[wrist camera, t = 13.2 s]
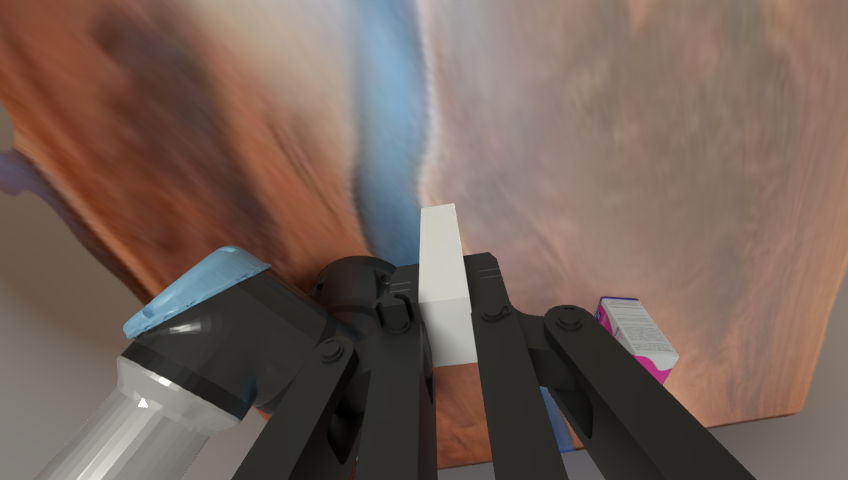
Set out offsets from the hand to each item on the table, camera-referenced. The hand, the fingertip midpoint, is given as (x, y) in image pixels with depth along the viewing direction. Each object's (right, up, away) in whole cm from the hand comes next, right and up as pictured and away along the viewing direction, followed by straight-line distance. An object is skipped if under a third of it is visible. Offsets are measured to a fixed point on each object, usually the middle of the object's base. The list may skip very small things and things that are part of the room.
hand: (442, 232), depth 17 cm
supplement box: (+29, -11, +40) cm, 51 cm away
